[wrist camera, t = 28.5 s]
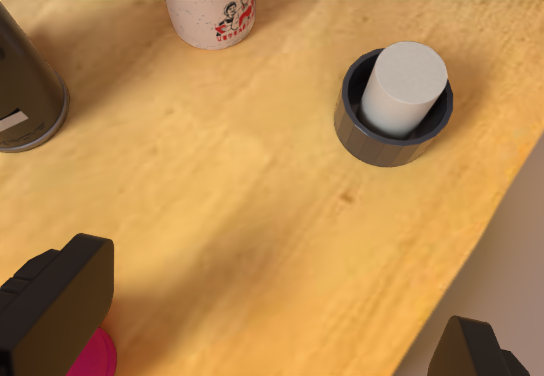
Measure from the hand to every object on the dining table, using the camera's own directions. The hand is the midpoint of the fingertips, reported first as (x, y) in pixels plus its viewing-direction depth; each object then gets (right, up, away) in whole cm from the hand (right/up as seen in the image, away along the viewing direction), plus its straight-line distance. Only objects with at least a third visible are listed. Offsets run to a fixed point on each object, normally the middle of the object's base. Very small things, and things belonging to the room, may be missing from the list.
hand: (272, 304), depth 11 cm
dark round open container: (+11, +9, +33) cm, 36 cm away
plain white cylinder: (+11, +9, +32) cm, 35 cm away
